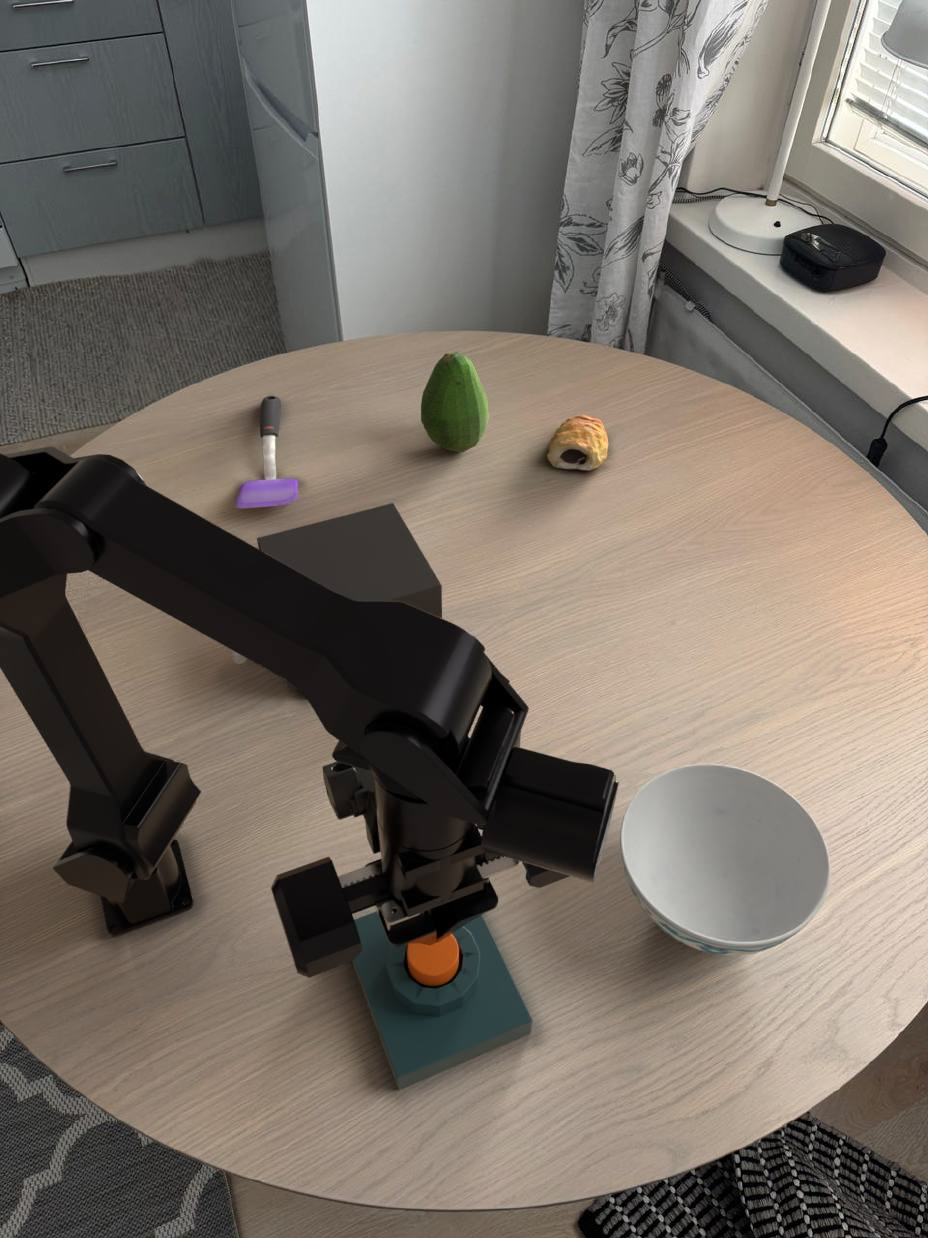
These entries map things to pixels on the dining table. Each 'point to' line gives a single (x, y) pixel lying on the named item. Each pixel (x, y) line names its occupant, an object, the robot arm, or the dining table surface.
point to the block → (438, 1002)
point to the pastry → (579, 444)
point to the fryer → (361, 558)
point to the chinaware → (723, 858)
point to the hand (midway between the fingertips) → (431, 937)
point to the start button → (433, 961)
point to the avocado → (454, 404)
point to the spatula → (268, 465)
